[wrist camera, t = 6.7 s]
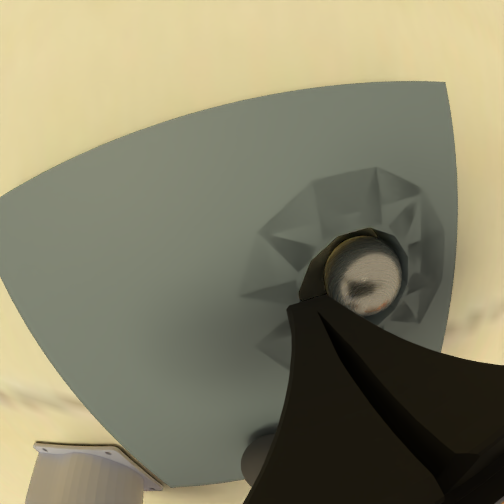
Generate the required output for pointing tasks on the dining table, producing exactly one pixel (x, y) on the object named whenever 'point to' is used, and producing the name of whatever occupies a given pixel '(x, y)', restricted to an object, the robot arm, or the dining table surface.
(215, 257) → the plate
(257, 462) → the black ball
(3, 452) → the dining table surface
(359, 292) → the steel ball
